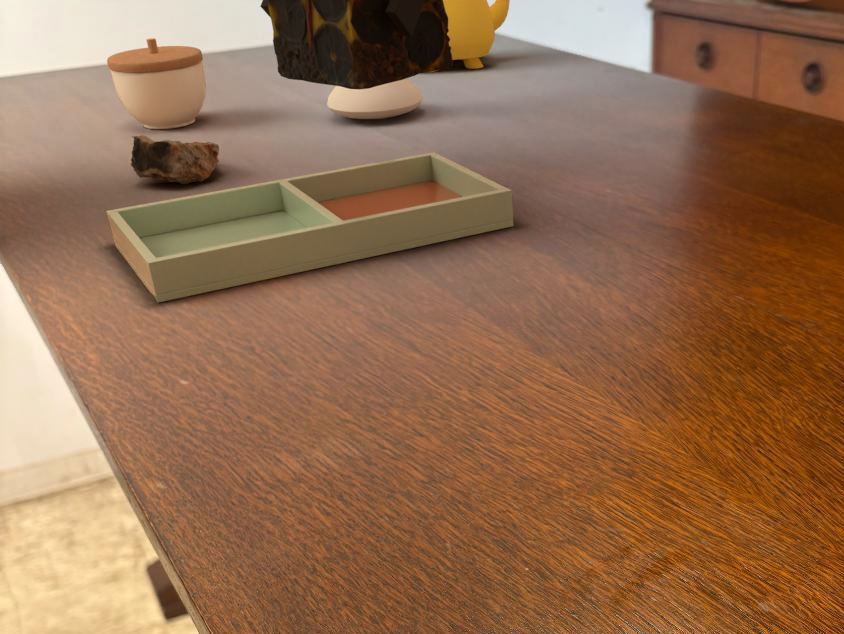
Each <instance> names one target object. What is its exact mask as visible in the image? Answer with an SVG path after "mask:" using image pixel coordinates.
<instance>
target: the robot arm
mask: <svg viewBox="0 0 844 634" xmlns="http://www.w3.org/2000/svg"><path fill="white" fill-rule="evenodd" d="M424 2H425V0H390V1H389V4H388V7H387V9H386V13H387V14H388V16H389V17H390V18H391V20H392V21H393V23H394V24H395V25H396V27H397V28H398V29H399V31H400V32H401V33H402V35H403V36H412V34H413V32H414V29H415V26H416V24H417V21H418V18H419V15H420V13H421V10H422V7H423V4H424ZM259 8H261V9H262V10H263V11H264V12H265V14H266V15H267V16H268V17H269V18H270V19H271V17H270V13H269V7H268V0H262V1H261V4H260V6H259Z"/></svg>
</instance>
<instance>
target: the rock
mask: <svg viewBox="0 0 844 634" xmlns="http://www.w3.org/2000/svg"><path fill="white" fill-rule="evenodd" d="M131 138H133V146H132V150H131V159H130V161H131V163H130V166H131V167H132V168H133V169H132V170H133V172H134V173H135V174H136V176H137V177H138V178H140V179H141V178H147V179H148V178H149V179H153V180H155V181H156V182H158V183H161V184H166V183H178V184H181V185H187V184H190V183H195V182H203V181H204V180H206V179H208V178H209V177H210V176H211V174H212V172H213V171H214V170H215V169H216V167H217V164H218V163H219V162H220V160H219V155H220V145H219V144H218V143H216V142H211V141H207V142H201V141H193V142H182V141H181V140H170V139H165V140H159V141H158V140H156V141H155V140H153V139H151V138H150V137H149V136H147V135H134V136H132V135H131Z"/></svg>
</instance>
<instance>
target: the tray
mask: <svg viewBox="0 0 844 634" xmlns="http://www.w3.org/2000/svg"><path fill="white" fill-rule="evenodd" d="M106 216H107V219H108V224H109V227H110V230H111V234H112V238H113V242H114V246H115V248H116V249H117V250H118V252H119V253H120V255H121V256H122V257H123V259H124V260H125V261H126V262H127V264H128V265H129V266H130V268H131V269H132V270H133V272H134V273H135V275H136V276H137V277H138V279H140V281H141V282H142V283H143V285H144V287H146V289H147V290H148V291H149V293H150V294H151V295H152V297H153V298H154V299H155V301H156V302H157V303H158V304H159V303H163V302H168V301H173V300H178V299H182V298H187V297H192V296H196V295H200V294H206V293H210V292H214V291H218V290H219V291H220V290H223V289H228V288H233V287H238V286H242V285H247V284H251V283H256V282H260V281H265V280H270V279H274V278H280V277H284V276H288V275H289V276H290V275H294V274H298V273H302V272H307V271H311V270H316V269H317V270H318V269H320V268H326V267H330V266H335V265H340V264H344V263H349V262H354V261H358V260H359V261H360V260H363V259H368V258H374V257H376V256H381V255H386V254H390V253H396V252H400V251H404V250H405V251H406V250H410V249H413V248H414V249H415V248H419V247H423V246H428V245H432V244H439V243H443V242H447V241H451V240H456V239H460V238H461V239H462V238H465V237H469V236H475V235H479V234H484V233H489V232H492V231H497V230H503V229H507V228H512V227H514V207H513V190H512V189H510V188H508V187H506V186H504V185H501V184H500V183H498V182H495V181H493V180H492V179H490V178H488V177H485V176H484V175H481V174H479V173H477V172H476V171H473V170H471V169H469V168H467V167H465V166H462V165H461V164H459V163H457V162H455V161H453V160H451V159H449V158H447V157H445V156H443V155H441V154H438V153H436V152H435V151H433V152H428V153H422V154H417V155H411V156H404V157H399V158H394V159H388V160H383V161H378V162H372V163H367V164H360V165H356V166H355V165H354V166H350V167H349V166H348V167H344V168H338V169H333V170H327V171H322V172H316V173H310V174H304V175H300V176H293V177H288V178H283V179H277V180H271V181H266V182H260V183H253V184H249V185H244V186H238V187H232V188H227V189H222V190H221V189H220V190H216V191H209V192H204V193H198V194H193V195H187V196H182V197H181V196H180V197H177V198H171V199H165V200H160V201H154V202H149V203H143V204H137V205H132V206H131V205H130V206H125V207H119V208H114V209H110V210H106Z"/></svg>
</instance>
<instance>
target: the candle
mask: <svg viewBox="0 0 844 634" xmlns="http://www.w3.org/2000/svg"><path fill="white" fill-rule="evenodd" d="M389 1H390V0H268V7H269V13H270V17H271V18H270V17H269V18H270V21H271V26H272V31H273V32H272V33H273V34H272V35H273V38H272V44H273V50H274V55H275V57H276V61H277V72H278V74H279V75H280V77H282V78H285V79H288V80H295V81H304V82H307V83H314V84H319V85H327V86H334V87H336V86H341V87H344V88H348V89H358V90H360V89H368V88H373V87H376V86H380V85H383V84H387V83H391V82H395V81H400V80H403V79H406V78H407V79H408V78H411V77H414V76H418V75H420V74H425V73H432V72H431V71H434V72H438V71H441V70H448V69H449V68H451V67H453V66H454V63H453V60H452V54H451V47H450V46H449V41H450V38H449V36H448V35H447V33H448V32H449V30H448V16H447V14H446V12H445V7H444V3H443V0H425V2H424V4H423V7H422V10H421V13H420V15H419V18H418V21H417V24H416V26H415V29H414V32H413V34H412V36H403V35H402V33H401V32H400V31H399V29H398V28H397V27H396V25H395V24H394V23H393V21H392V20H391V18H390V17H389V16H388V14H387V13H386V9H387V7H388V4H389ZM437 70H438V71H437Z"/></svg>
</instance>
